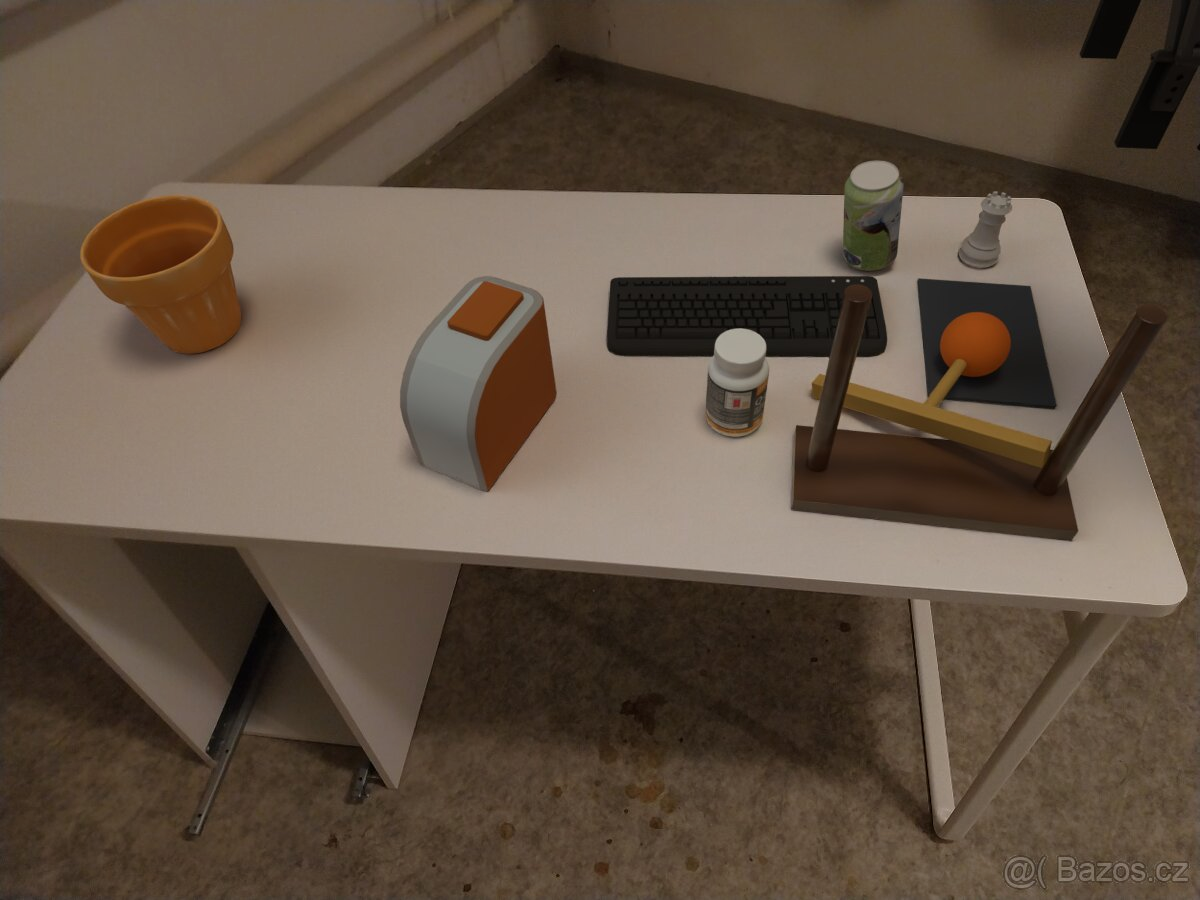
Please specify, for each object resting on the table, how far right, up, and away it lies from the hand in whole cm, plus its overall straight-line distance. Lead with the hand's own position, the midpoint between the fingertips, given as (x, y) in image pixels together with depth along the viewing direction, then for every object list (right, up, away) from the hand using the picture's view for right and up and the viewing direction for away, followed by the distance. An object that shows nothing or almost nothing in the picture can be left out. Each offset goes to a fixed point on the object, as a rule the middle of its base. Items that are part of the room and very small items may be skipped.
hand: (1115, 98), depth 65 cm
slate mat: (0, -16, +23) cm, 28 cm away
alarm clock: (-51, -25, +20) cm, 60 cm away
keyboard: (-24, -13, +27) cm, 39 cm away
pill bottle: (-27, -24, +19) cm, 41 cm away
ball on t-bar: (-1, -15, +19) cm, 24 cm away
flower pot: (-86, -13, +31) cm, 92 cm away
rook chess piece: (+4, -5, +32) cm, 33 cm away
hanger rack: (-10, -31, +12) cm, 34 cm away
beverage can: (-9, -5, +33) cm, 34 cm away
